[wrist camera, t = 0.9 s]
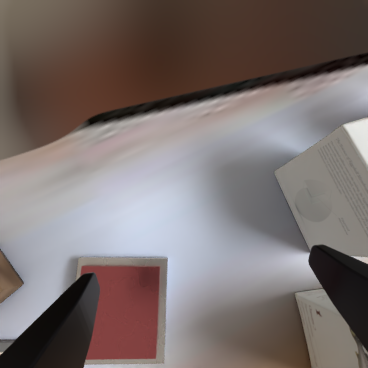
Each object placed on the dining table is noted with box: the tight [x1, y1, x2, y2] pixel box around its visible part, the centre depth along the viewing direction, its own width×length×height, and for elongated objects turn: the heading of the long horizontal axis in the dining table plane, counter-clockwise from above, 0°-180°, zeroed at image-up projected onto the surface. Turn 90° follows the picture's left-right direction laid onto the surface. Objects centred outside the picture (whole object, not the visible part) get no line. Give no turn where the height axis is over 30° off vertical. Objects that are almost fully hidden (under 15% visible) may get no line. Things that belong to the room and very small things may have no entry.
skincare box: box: [274, 117, 368, 257], centre depth 19 cm, size 10×6×10 cm, turn 18°
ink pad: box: [75, 257, 168, 365], centre depth 19 cm, size 9×9×2 cm
